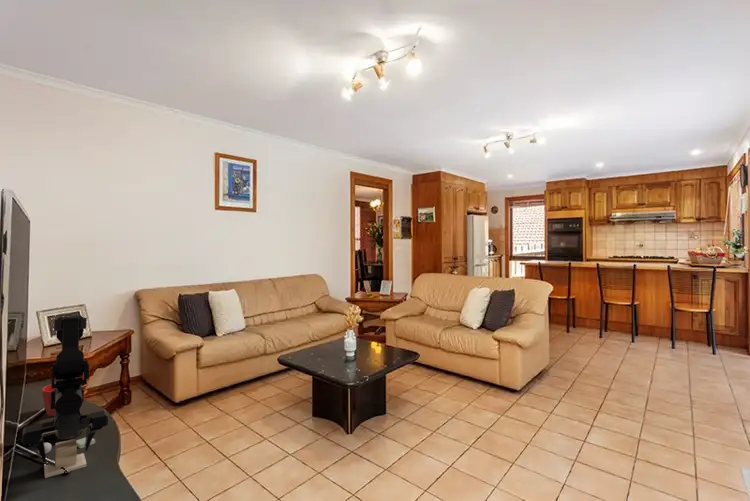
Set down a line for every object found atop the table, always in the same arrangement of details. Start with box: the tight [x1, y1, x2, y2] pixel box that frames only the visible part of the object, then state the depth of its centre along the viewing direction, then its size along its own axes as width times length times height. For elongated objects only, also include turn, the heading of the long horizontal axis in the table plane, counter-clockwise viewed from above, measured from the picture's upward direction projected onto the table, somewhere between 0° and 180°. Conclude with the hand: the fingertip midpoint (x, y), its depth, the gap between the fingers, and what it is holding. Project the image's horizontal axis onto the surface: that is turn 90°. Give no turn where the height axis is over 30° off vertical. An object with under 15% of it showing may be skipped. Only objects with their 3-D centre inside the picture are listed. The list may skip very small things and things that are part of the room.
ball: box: [37, 442, 52, 455], centre depth 114 cm, size 3×3×3 cm
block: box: [54, 438, 78, 470], centre depth 108 cm, size 4×4×6 cm
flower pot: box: [41, 382, 56, 417], centre depth 141 cm, size 11×11×10 cm
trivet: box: [43, 452, 87, 479], centre depth 108 cm, size 7×9×1 cm
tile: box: [76, 436, 96, 449], centre depth 121 cm, size 4×4×2 cm
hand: (65, 455), depth 108 cm, fingers open, 9 cm apart
